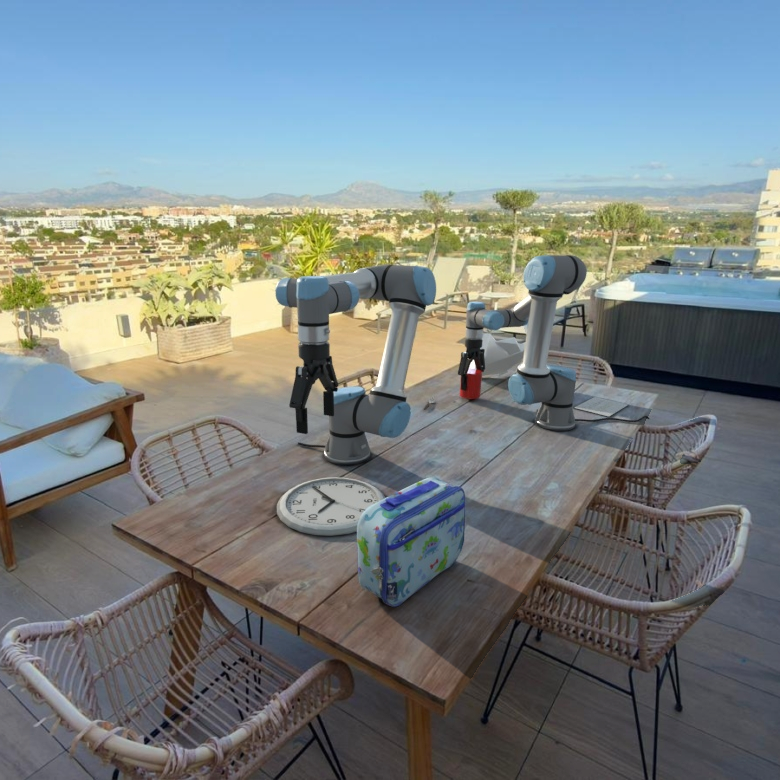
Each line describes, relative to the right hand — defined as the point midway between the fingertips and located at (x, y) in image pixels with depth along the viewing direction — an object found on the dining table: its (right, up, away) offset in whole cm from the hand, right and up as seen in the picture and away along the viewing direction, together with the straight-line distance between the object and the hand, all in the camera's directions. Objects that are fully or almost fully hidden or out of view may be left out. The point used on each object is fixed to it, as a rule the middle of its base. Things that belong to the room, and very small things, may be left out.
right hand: (470, 387), depth 232 cm
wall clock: (-52, -33, -90) cm, 108 cm away
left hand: (-55, -10, -99) cm, 114 cm away
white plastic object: (+21, +2, +26) cm, 33 cm away
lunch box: (-31, -42, -119) cm, 130 cm away
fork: (-19, -8, -8) cm, 22 cm away
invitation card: (+56, -8, -6) cm, 57 cm away
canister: (0, -4, +1) cm, 4 cm away
